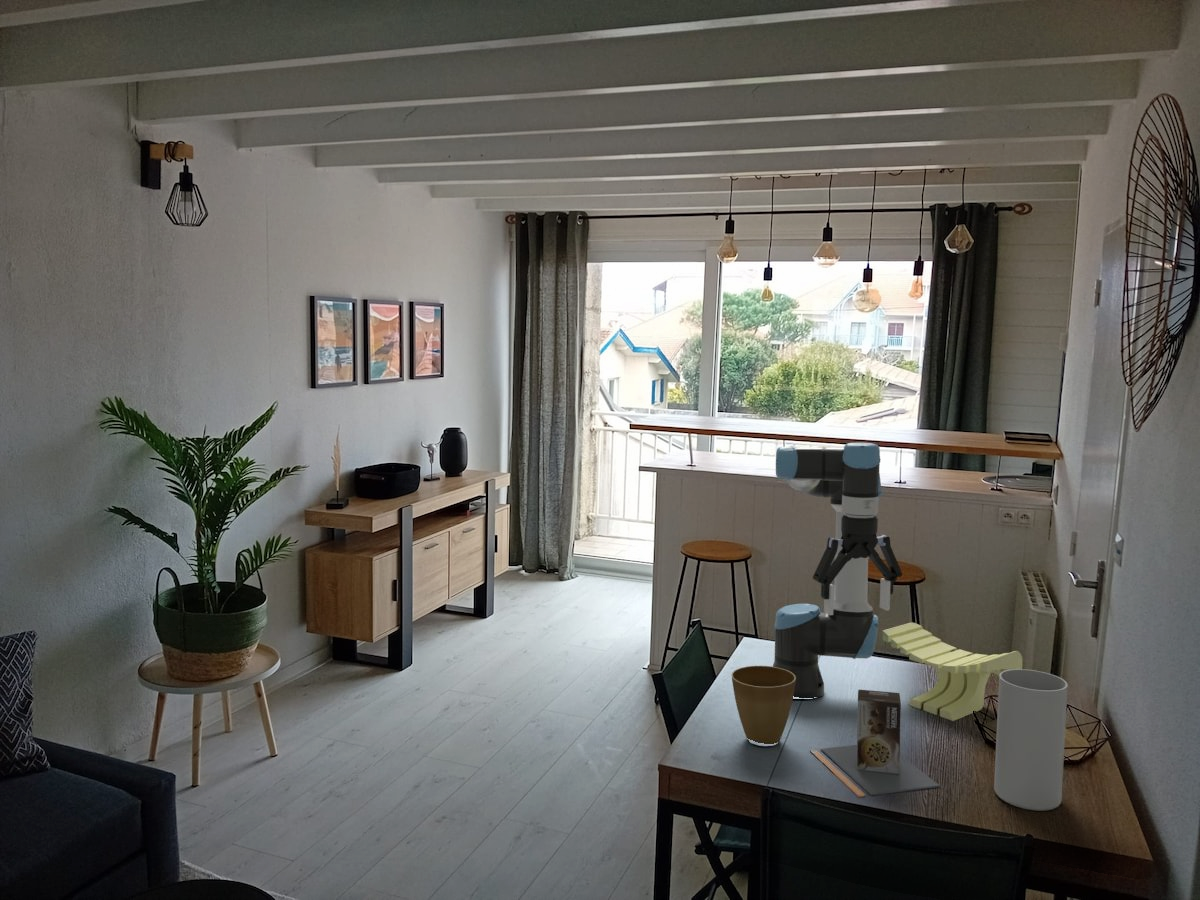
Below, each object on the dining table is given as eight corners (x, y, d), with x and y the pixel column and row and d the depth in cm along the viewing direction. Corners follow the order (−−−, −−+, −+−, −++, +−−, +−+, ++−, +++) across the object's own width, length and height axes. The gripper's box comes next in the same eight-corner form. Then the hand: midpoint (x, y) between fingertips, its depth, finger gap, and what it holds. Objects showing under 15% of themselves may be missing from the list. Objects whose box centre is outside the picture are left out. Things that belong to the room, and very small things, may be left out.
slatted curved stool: (1019, 717, 224) (1023, 648, 222) (984, 732, 215) (987, 661, 213) (916, 682, 248) (918, 620, 247) (880, 694, 239) (882, 630, 237)
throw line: (809, 751, 204) (809, 750, 204) (815, 750, 205) (815, 749, 204) (858, 797, 183) (858, 795, 183) (865, 796, 183) (865, 794, 183)
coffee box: (898, 762, 198) (900, 692, 196) (899, 775, 192) (902, 703, 190) (855, 757, 200) (857, 688, 199) (855, 769, 194) (857, 698, 193)
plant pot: (794, 730, 216) (795, 666, 214) (794, 757, 201) (796, 689, 200) (732, 725, 219) (733, 662, 217) (728, 751, 204) (729, 684, 203)
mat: (820, 750, 205) (820, 748, 205) (883, 743, 208) (883, 741, 208) (870, 795, 184) (870, 793, 183) (939, 787, 187) (939, 785, 187)
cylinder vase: (1006, 777, 192) (1012, 664, 189) (1069, 796, 183) (1075, 679, 181) (984, 797, 183) (989, 680, 180) (1049, 819, 174) (1056, 696, 172)
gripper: (815, 520, 184) (812, 620, 186) (921, 515, 190) (917, 611, 192) (798, 514, 191) (796, 610, 194) (900, 509, 197) (897, 602, 200)
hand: (856, 611), depth 193 cm, fingers open, 13 cm apart
